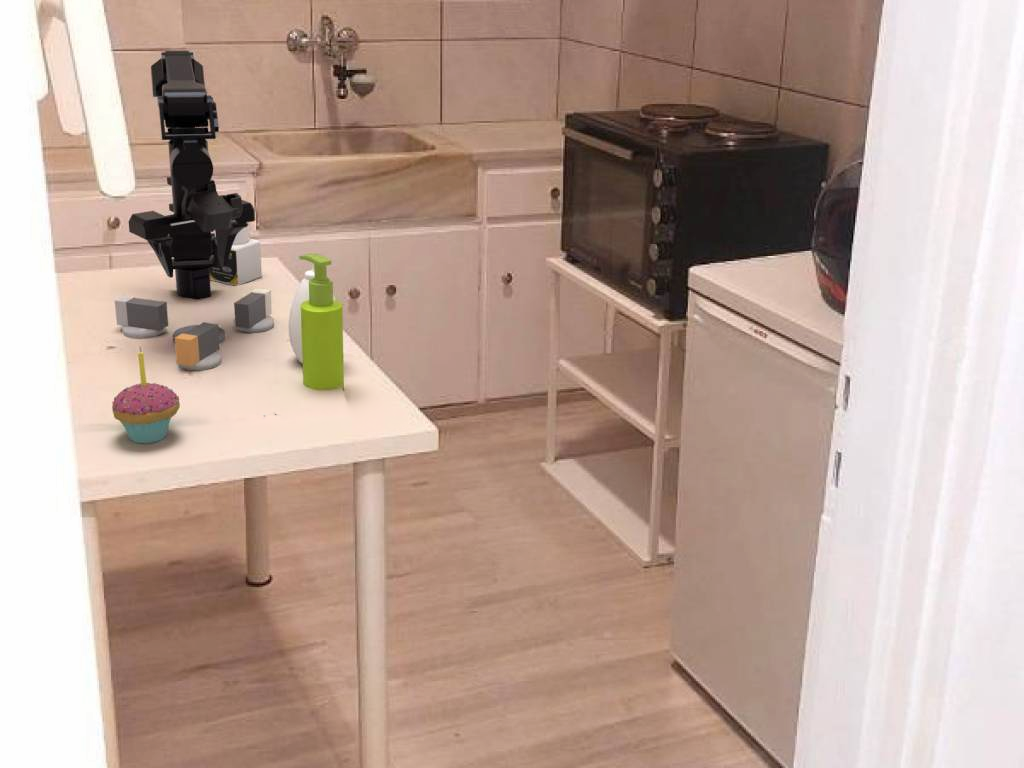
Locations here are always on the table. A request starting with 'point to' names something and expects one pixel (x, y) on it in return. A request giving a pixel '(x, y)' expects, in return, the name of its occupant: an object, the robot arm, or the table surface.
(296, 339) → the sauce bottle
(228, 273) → the medicine bottle
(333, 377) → the soap dispenser
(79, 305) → the table surface
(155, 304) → the knob near
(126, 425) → the cupcake
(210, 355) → the knob
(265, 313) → the knob
